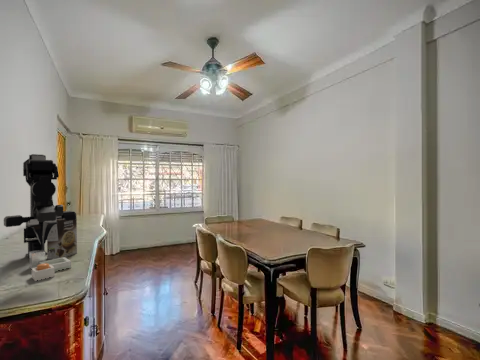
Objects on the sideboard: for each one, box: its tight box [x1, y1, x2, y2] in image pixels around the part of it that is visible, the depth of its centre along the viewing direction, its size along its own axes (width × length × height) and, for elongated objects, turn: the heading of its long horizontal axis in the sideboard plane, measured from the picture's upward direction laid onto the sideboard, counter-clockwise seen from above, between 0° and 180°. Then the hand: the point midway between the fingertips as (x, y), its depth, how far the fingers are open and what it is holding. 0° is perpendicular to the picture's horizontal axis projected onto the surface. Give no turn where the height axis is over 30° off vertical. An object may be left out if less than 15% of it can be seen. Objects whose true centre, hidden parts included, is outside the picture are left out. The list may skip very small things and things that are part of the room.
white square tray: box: [39, 257, 72, 272], centre depth 96 cm, size 8×8×2 cm
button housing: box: [31, 264, 56, 282], centre depth 87 cm, size 5×5×3 cm
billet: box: [29, 249, 46, 270], centre depth 97 cm, size 4×4×6 cm
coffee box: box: [46, 216, 78, 260], centre depth 111 cm, size 9×6×16 cm
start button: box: [37, 263, 49, 271], centre depth 87 cm, size 3×3×2 cm
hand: (42, 243), depth 87 cm, fingers closed
